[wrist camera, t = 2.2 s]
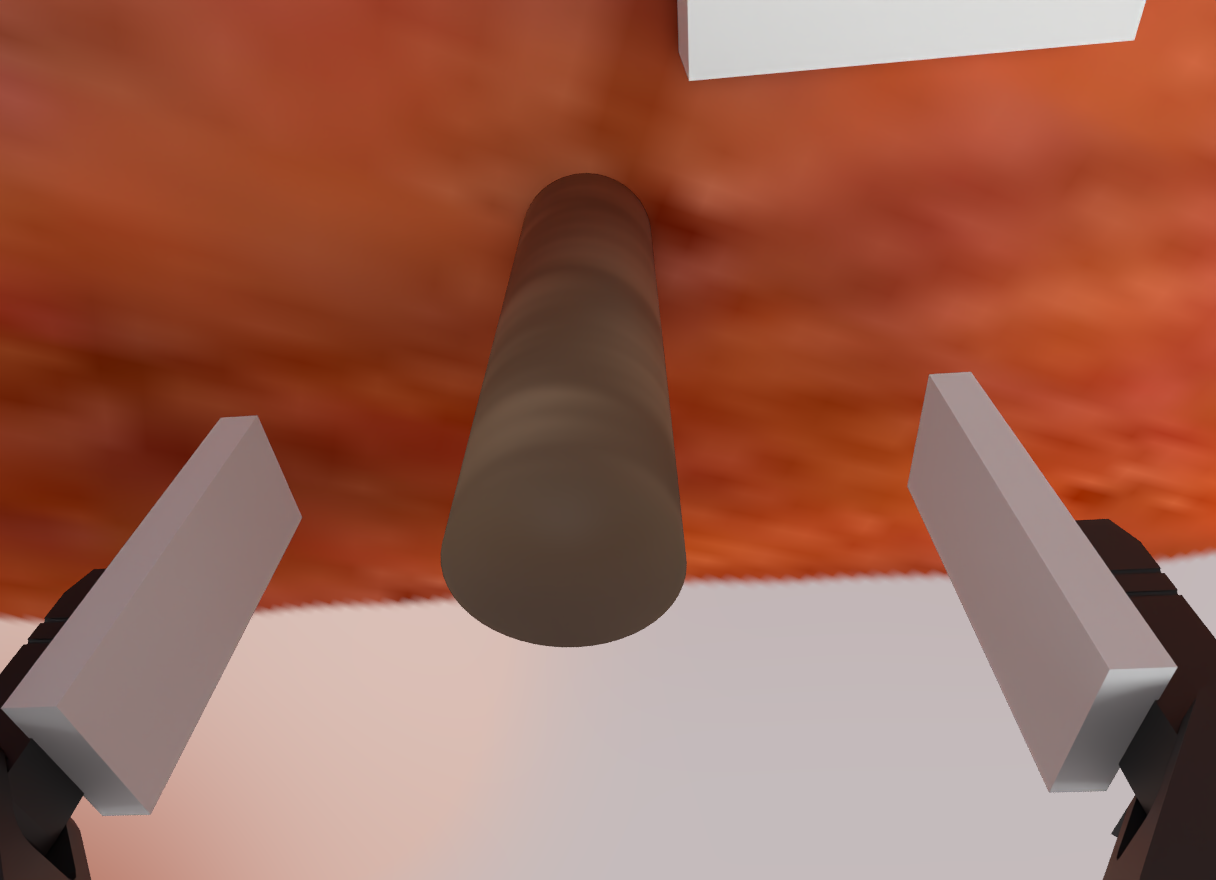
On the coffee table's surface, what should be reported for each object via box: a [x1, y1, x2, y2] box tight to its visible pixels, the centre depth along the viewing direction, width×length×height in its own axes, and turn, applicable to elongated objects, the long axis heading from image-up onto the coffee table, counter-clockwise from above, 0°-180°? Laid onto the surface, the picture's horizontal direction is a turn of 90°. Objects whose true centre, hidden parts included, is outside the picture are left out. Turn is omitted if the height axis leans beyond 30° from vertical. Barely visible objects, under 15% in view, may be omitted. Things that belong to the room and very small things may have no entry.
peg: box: [441, 173, 687, 647], centre depth 18 cm, size 4×4×14 cm
